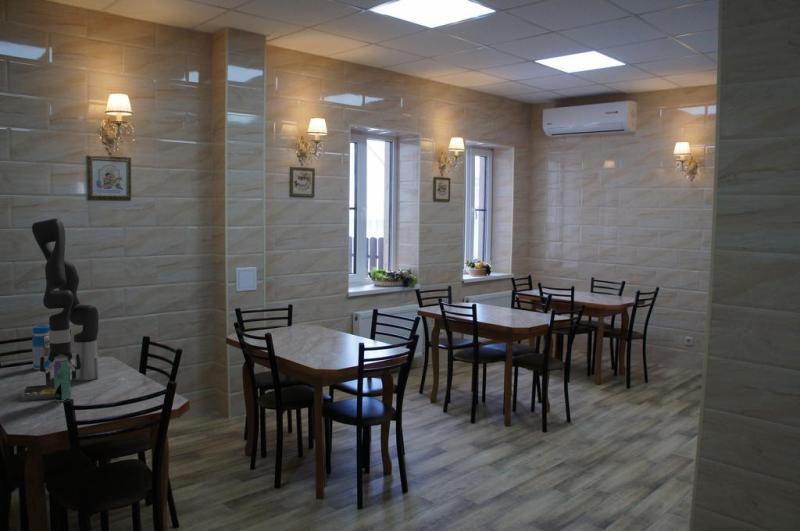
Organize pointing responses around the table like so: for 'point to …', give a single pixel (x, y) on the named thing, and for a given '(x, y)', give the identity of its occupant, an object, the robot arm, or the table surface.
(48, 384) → the toggle
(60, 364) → the spray can
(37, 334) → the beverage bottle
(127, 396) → the table surface
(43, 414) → the table surface
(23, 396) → the panel
